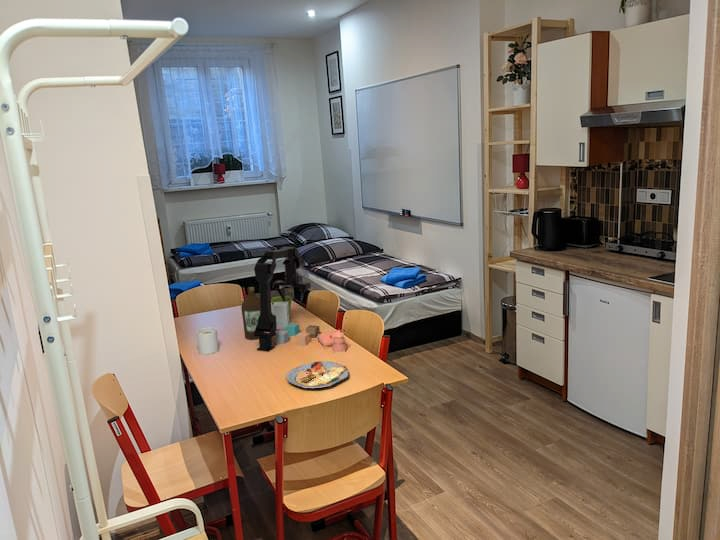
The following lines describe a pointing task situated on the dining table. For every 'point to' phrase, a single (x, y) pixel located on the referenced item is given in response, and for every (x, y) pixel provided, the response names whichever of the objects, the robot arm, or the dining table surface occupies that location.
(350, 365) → the dining table surface
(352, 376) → the dining table surface
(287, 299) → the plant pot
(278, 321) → the supplement box
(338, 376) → the food plate
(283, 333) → the slate grey block
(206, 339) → the mug
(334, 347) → the pottery
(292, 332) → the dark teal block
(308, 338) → the terracotta block
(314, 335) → the walnut block
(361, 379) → the dining table surface
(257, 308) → the olive oil
